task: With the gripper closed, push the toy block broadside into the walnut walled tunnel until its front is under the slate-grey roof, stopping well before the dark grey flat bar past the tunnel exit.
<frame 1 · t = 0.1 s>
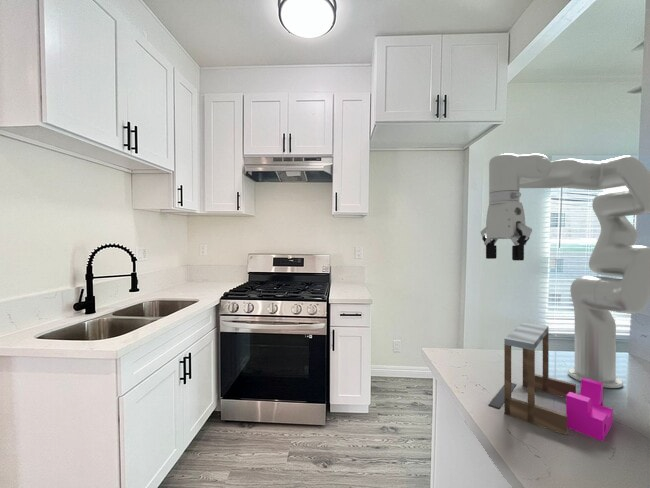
hand: (503, 259, 87), 37 cm above the countertop, tool pointing down, fingers open, 9 cm apart
tunnel: (541, 406, 79), on the countertop
toy block: (592, 423, 72), on the countertop
dark grey flat bar: (503, 394, 85), on the countertop
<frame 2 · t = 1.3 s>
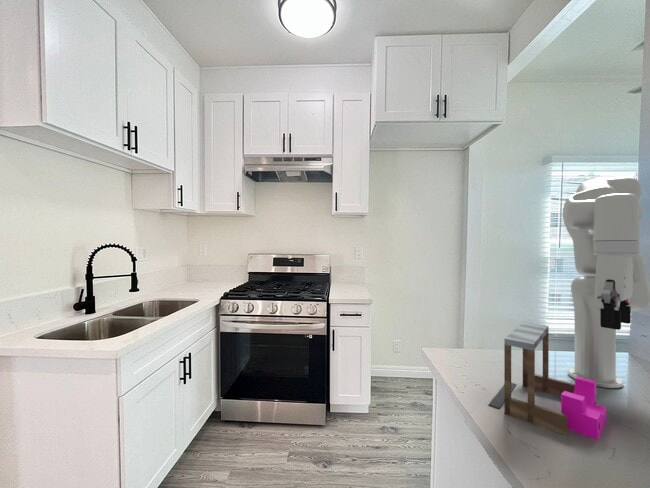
hand: (615, 325, 69), 23 cm above the countertop, tool pointing down, fingers open, 9 cm apart
toy block: (586, 421, 72), on the countertop
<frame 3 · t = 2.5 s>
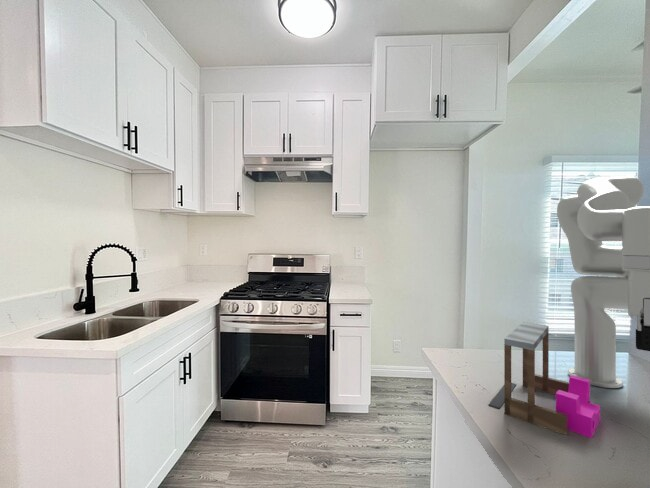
hand: (646, 349, 66), 19 cm above the countertop, tool pointing down, fingers closed
toy block: (580, 420, 73), on the countertop
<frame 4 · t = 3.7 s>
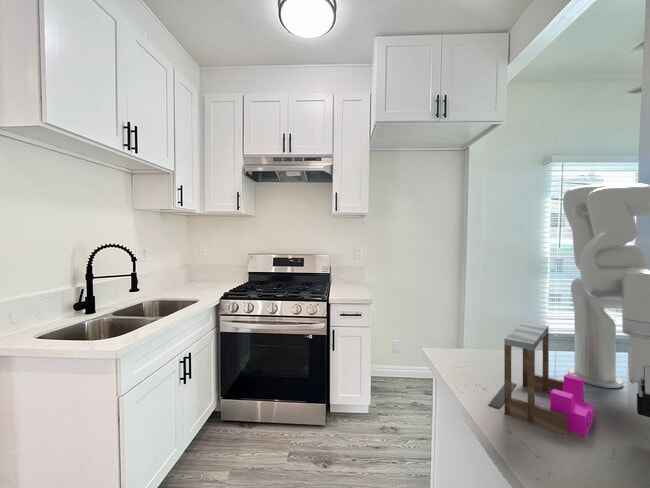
hand: (647, 415, 65), 5 cm above the countertop, tool pointing down, fingers closed
toy block: (574, 419, 74), on the countertop
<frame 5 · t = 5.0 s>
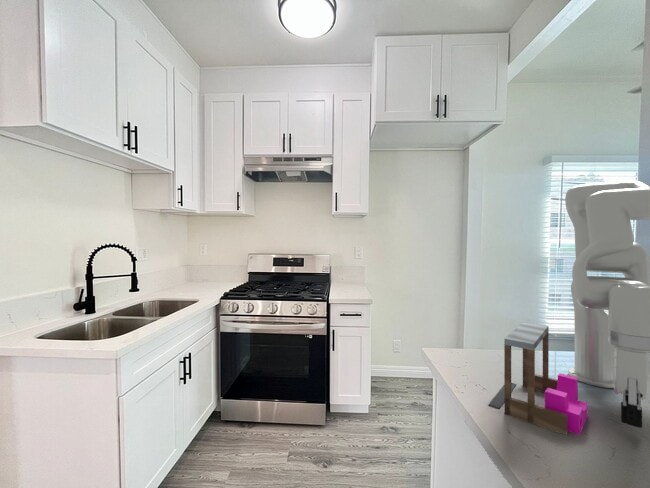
hand: (631, 423, 67), 2 cm above the countertop, tool pointing down, fingers closed
toy block: (568, 417, 74), on the countertop
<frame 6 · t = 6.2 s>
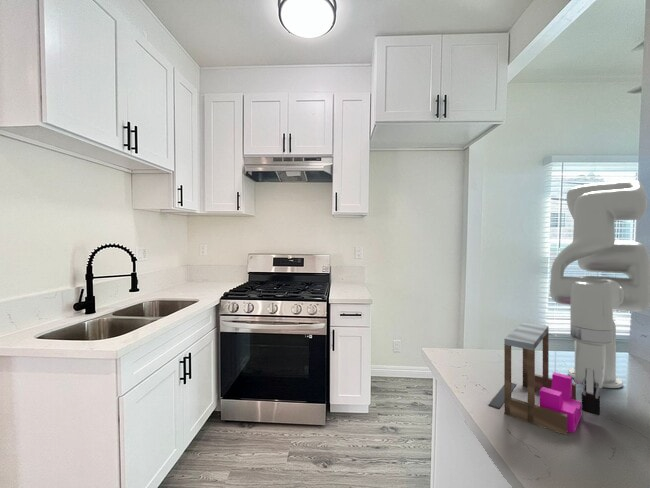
hand: (590, 412, 72), 2 cm above the countertop, tool pointing down, fingers closed
toy block: (562, 416, 75), on the countertop
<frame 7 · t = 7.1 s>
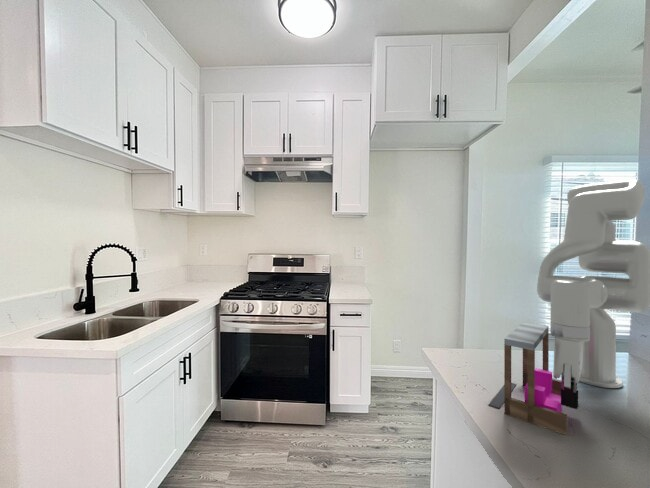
hand: (569, 405, 75), 2 cm above the countertop, tool pointing down, fingers closed
toy block: (545, 410, 77), on the countertop, touching gripper
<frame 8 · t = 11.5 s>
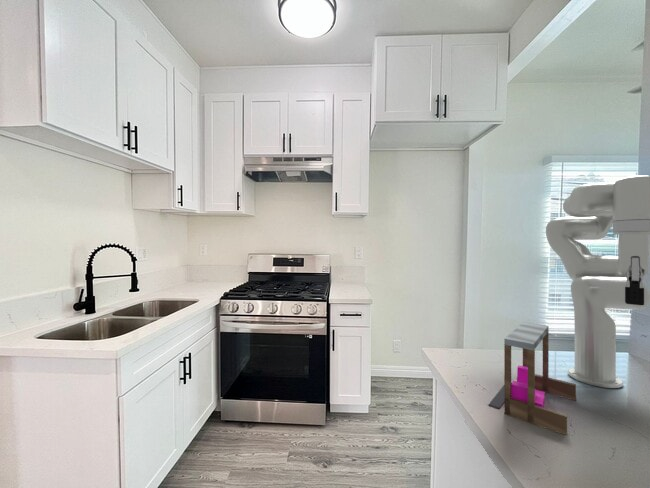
hand: (634, 303, 74), 27 cm above the countertop, tool pointing down, fingers closed
toy block: (529, 407, 79), on the countertop, touching tunnel
at the end: toy block inside the target area (2.4 cm from its centre), on the countertop; toy block tilted 0°; toy block touching countertop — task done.
